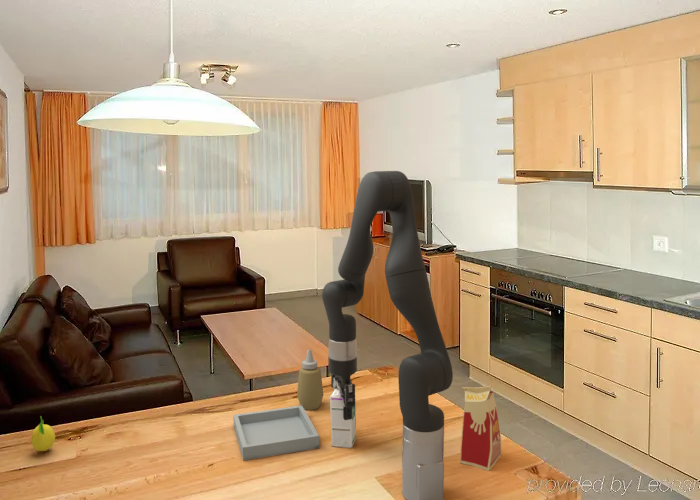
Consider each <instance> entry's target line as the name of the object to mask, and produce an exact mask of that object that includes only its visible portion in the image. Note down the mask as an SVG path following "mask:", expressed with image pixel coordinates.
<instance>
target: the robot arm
mask: <svg viewBox="0 0 700 500" xmlns="http://www.w3.org/2000/svg"><path fill="white" fill-rule="evenodd" d="M411 186H412V185H411V183H410V181H409V179H408V177H407V176H406V174H405V173H404V172H402V171H399V170H380V171H378V170H377V171H370V172H367V173H366V174H364V176H363V177H362V178H361V180H360V183H359V185H358V187H357V193H356V197H355V203H354V208H353V214H352V220H351V223H350V224H351V225H350V231H349V235H348V239H347V242H346V245H345V248H344V251H343V254H342V256H341V259H340V261H339V263H338V267H337V269H338V270H337V271H338V274H339V276H340V277H341V278H342V279H339V280H334V281H329V282H327V283H326V284H325V285H324V287H323V289H322V293H321V298H322V302H323V307H324V309H325V313H326V317H327V321H328V325H329V326H328V328H329V330H328V331H329V332H328V339H329V340H328V346H327V349H328V352H327V353H328V355H327V356H328V360H327V361H328V362H327V363H328V372H329V374H330V379H331V381H330V383H331V384H330V387H331V388H332V392H333V391H334V389H335V388H338V390H339V396H340V398H341V399H342V402H343V418H344V420H350V419H352V407H354V406H355V407H356V384H355V383H353V380H352V379H351V377H352V376H353V375H355V374H356V373H357V371H358V343H357V322H356V321H357V320H356V318H355V317H354V316H353V315H352V314H347V313H343V310H342V309H343V308H346V307H348V308H349V307H352V306H355V305H357V304H359V303H360V302H361V300H362V299H363V297H364V293H365V282H366V281H365V279H366V274H367V271H368V269H369V266H370V264H371V262H372V259H373V257H374V256H373V255H374V242H373V237H372V231H371V227H372V223H373V220H374V219H375V217H376V215H377V214H378V213H382V212H389V216H390V221H391V227H392V236H391V243H390V246H389V250H388V251H387V252H388V253H387V256H386V260H385V264H384V275H385V280H386V281H385V282H386V285H387V289H388V293H389V297H390V300H391V302H392V303H393V306H395V308H396V309H397V311H398V312H399V313H400V314H401V315H402V316H403V318H404V319H405V320H406V321H407V322H408V324H409V325H410V327H411V328H412V329H413V331H414V334H415V336H416V338H417V342H418V344H419V345H418V346H419V349H420V353H418V354H414V355H409V356H406V357H405V358H403V359H402V360H401V362H400V364H399V367H398V376H397V377H398V396H399V399H398V400H399V408H400V413H401V416H402V458H401V459H402V470H401V471H402V472H401V473H402V474H401V475H402V480H401V482H402V485H401V487H402V491H401V493H402V496H403V498H404V499H406V500H444V488H445V486H444V485H445V484H444V483H445V463H444V457H445V456H444V454H445V452H444V451H445V449H444V443H445V441H444V440H445V438H444V437H445V413H444V411H443V410H442V408H440V407H438V406H437V405H434V404H432V403H430V402H429V396H432V395H435V394H438V393H441V392H444V391H446V390H448V389H449V388H450V387H451V385H452V384H453V377H454V372H453V366H452V363H451V359H450V356H449V352H448V349H447V347H446V342H445V341H444V337H443V334H442V332H441V328H440V325H439V321H438V318H437V317H438V316H437V314H436V313H437V312H436V310H435V305H434V303H433V298H432V297H433V296H432V292H431V288H430V282H429V278H428V274H427V270H426V265H425V261H424V258H423V253H422V249H421V244H420V238H419V234H418V228H417V222H416V221H417V220H416V213H415V212H416V211H415V205H414V195H413V191H412V187H411ZM343 393H345V394H343ZM349 398H350V401H349V402H348V399H349Z"/></svg>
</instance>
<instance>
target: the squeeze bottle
mask: <svg viewBox="0 0 700 500" xmlns="http://www.w3.org/2000/svg"><path fill="white" fill-rule="evenodd" d="M312 351H313V350H312V349H307V351H306V356H305V359H304V360H302V361H301V367H300V369H299V370H298V379H297V391H296V393H297V394H296V396H297V400H298V402H299V406H301V405H302V406H303V408H304V410H305V411H306V410H307V411H315V410H317V409H319V408H320V407H321V405H322V401H323V398H324V388H323V379H322V371H321V368H320V367H318V361H317V360H316V359H314V354H313V352H312Z"/></svg>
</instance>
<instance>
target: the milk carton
mask: <svg viewBox="0 0 700 500" xmlns="http://www.w3.org/2000/svg"><path fill="white" fill-rule="evenodd" d="M461 389H463V390H464V408H463V417H462V429H461V441H460V442H461V444H460V459H459V461H460V462H459V463H460V464H464V465H468V466H473V467H475V468H479V469H481V470H484V471H487V472H489V471H490V470H491V469H492V468H493V467H494V466H495V464H496V463H497V462H498V461H499V460H500V458H501V457H502V455H503V453H502V436H501V435H502V434H501V428H500V422H499V414H498V409H497V403H496V399H495V395H494V392H493V391H491V390H492V385H488V386H480V387H468V386H467V387H465V386H463V387H461Z"/></svg>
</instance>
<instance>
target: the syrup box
mask: <svg viewBox="0 0 700 500" xmlns="http://www.w3.org/2000/svg"><path fill="white" fill-rule="evenodd" d="M343 394H345V393H343ZM349 401H350V398H349V399H348V402H349ZM329 403H330V404H329V405H330V407H329V408H330V409H329V410H330V431H331V432H330V436H331V438H330V439H331V441H330V442H331V443H330V444H331V446H332V447H335V448H336V447H337V448H344V449H345V448H347V449H352V448H353V446H354V443H355V442H356V439H357V417H356V415H357V414H356V405H355V406H354V407H352V419H350V420H344V418H343V402H342V399H341V398H340V396H339V390H338V388H335V389H334V391H333V390H332V392H331V394H330V396H329Z"/></svg>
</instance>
